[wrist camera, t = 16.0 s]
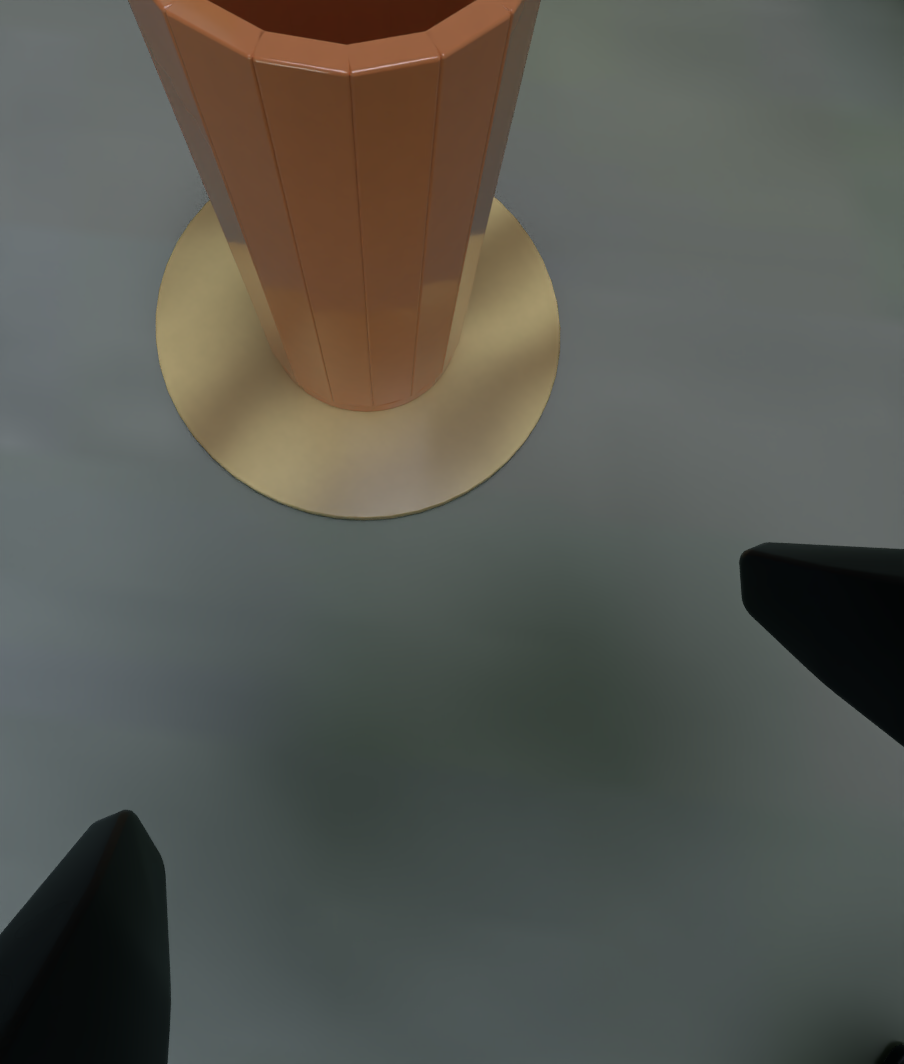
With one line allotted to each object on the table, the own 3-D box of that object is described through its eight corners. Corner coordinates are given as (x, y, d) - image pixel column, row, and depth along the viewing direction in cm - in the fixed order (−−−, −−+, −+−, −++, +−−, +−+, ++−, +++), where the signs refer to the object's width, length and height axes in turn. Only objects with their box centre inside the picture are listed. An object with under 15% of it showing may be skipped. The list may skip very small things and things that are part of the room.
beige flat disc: (633, 335, 23) (638, 330, 23) (363, 607, 20) (362, 606, 20) (366, 84, 24) (366, 75, 23) (70, 317, 21) (64, 310, 21)
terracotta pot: (490, 292, 22) (626, -169, 10) (403, 446, 21) (426, 153, 8) (328, 204, 22) (246, -378, 9) (231, 353, 21) (-16, -86, 8)
